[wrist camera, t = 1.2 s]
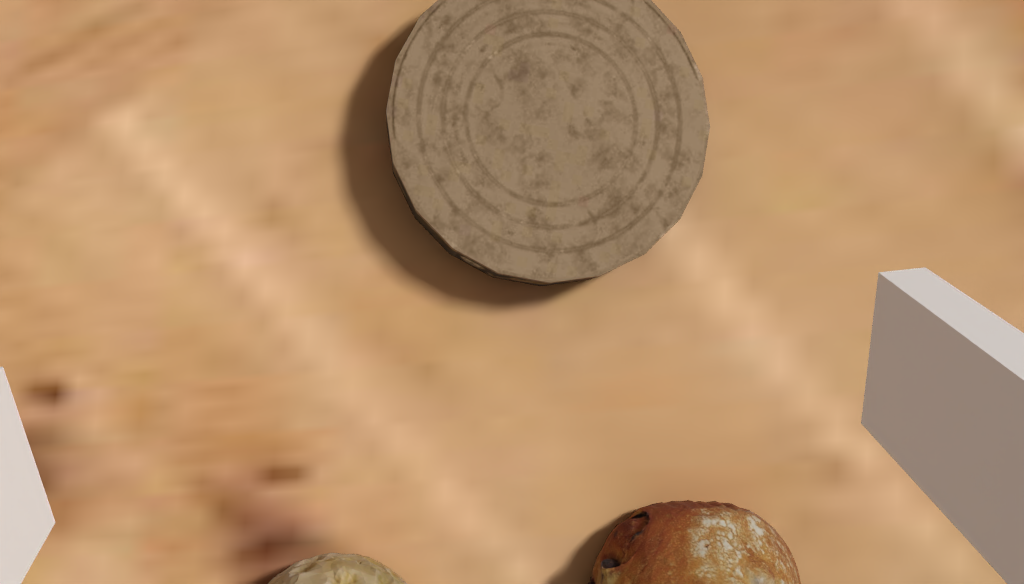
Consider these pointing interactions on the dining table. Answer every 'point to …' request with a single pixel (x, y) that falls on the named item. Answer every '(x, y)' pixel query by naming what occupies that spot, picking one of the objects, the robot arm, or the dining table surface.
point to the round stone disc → (546, 133)
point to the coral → (337, 571)
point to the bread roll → (694, 547)
